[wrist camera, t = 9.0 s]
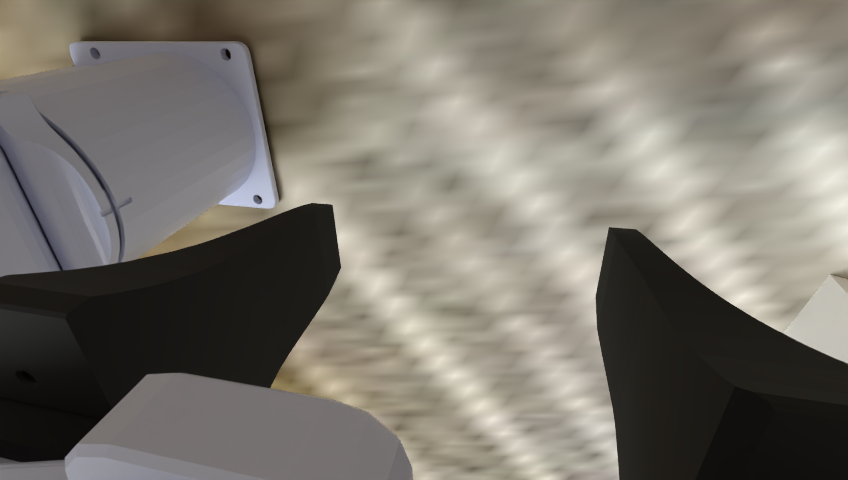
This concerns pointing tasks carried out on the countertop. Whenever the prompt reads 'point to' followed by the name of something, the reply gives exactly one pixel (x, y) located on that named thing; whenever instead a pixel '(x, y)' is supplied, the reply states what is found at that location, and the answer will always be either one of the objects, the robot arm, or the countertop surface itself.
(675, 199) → the countertop surface
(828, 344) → the milk
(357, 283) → the countertop surface
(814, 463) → the robot arm
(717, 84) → the countertop surface
